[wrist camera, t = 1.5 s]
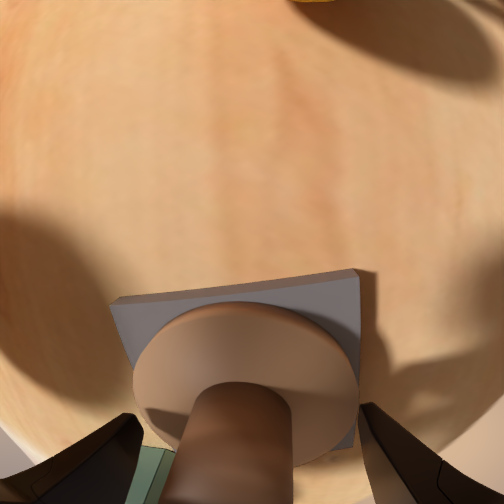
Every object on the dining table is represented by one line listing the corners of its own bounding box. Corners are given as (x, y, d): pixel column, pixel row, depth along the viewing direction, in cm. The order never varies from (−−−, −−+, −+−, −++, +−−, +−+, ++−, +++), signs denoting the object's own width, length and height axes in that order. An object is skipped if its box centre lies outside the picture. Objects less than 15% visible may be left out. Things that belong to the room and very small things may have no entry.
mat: (352, 268, 8) (359, 276, 8) (350, 434, 10) (352, 446, 10) (119, 297, 9) (109, 305, 9) (180, 443, 11) (176, 455, 10)
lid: (353, 284, 8) (429, 402, 3) (348, 445, 9) (365, 541, 5) (115, 310, 9) (19, 398, 4) (179, 452, 10) (148, 537, 6)
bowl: (209, 452, 11) (192, 517, 7) (236, 503, 13) (228, 551, 9) (103, 438, 12) (74, 484, 8) (146, 492, 13) (130, 531, 10)
